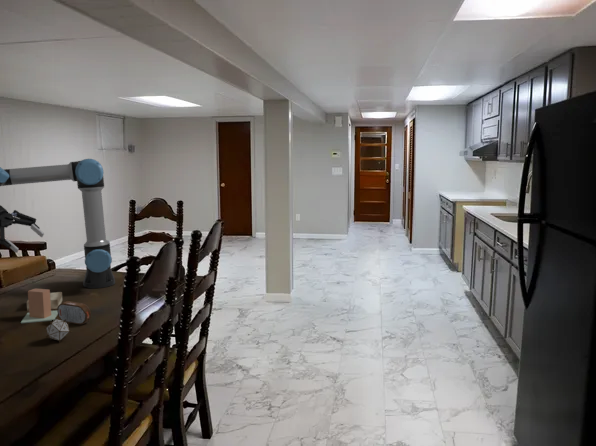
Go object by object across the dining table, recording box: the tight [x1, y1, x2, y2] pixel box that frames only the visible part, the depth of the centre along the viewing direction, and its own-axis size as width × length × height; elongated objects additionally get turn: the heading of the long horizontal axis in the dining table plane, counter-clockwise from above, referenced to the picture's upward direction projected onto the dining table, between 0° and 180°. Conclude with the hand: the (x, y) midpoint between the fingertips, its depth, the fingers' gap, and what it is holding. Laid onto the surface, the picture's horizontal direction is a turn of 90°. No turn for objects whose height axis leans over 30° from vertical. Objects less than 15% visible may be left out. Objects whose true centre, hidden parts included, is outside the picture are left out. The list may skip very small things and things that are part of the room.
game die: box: [43, 316, 73, 344], centre depth 172 cm, size 9×8×10 cm
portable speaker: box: [56, 300, 92, 326], centre depth 190 cm, size 15×3×8 cm, turn 71°
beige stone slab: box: [26, 291, 63, 312], centre depth 211 cm, size 12×12×4 cm
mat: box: [20, 309, 58, 324], centre depth 197 cm, size 12×12×1 cm
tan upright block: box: [27, 288, 52, 318], centre depth 196 cm, size 7×4×11 cm, turn 78°
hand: (30, 243), depth 209 cm, fingers open, 13 cm apart
